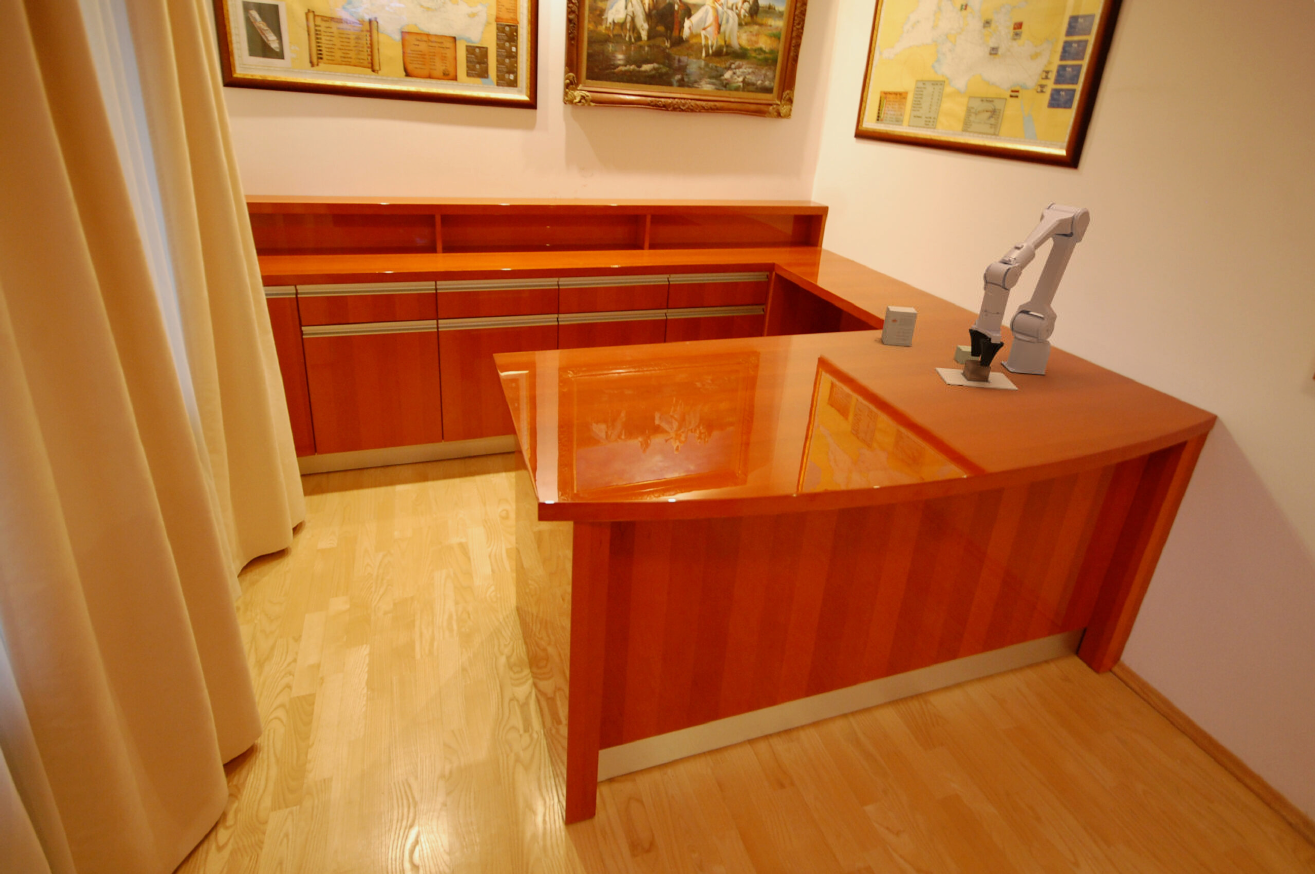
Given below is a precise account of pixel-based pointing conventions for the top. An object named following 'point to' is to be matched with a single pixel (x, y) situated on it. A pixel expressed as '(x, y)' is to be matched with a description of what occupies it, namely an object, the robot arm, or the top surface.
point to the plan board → (959, 379)
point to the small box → (899, 326)
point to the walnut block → (976, 371)
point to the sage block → (963, 354)
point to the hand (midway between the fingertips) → (979, 361)
